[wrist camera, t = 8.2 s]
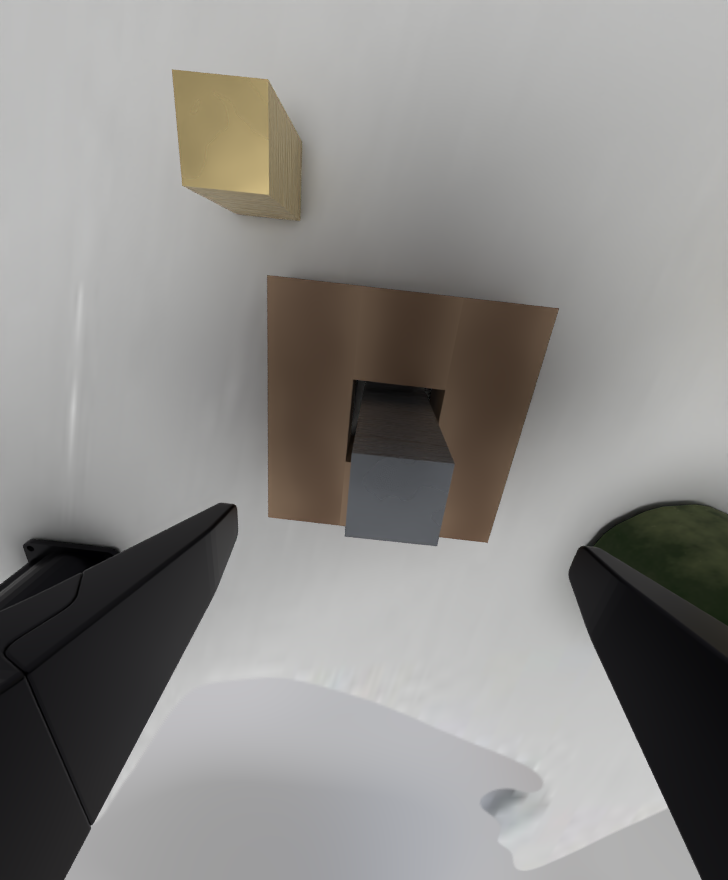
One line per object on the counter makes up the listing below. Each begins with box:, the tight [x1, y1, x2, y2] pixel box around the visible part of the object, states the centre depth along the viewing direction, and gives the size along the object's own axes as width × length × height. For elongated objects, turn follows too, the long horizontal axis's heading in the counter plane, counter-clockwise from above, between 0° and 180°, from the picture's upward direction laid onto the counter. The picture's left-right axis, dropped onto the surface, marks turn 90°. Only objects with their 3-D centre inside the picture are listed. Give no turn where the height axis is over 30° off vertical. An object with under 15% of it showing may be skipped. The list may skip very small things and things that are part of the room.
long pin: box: [345, 381, 455, 546], centre depth 15 cm, size 3×3×10 cm
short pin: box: [172, 70, 302, 221], centre depth 14 cm, size 3×3×5 cm
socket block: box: [267, 275, 559, 543], centre depth 18 cm, size 12×12×4 cm
